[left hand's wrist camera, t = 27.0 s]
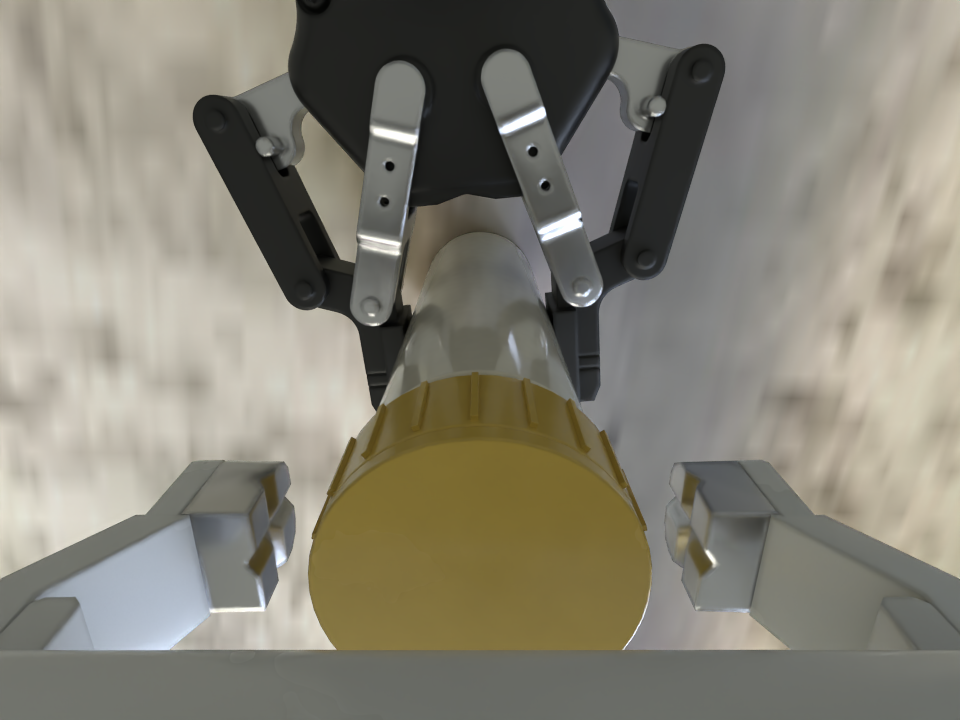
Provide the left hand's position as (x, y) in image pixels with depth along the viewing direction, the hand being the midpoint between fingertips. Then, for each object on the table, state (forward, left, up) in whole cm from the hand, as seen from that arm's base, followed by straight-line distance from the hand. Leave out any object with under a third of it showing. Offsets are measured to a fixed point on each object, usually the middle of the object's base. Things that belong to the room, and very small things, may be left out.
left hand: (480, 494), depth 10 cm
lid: (0, 0, +2) cm, 2 cm away
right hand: (0, +3, -9) cm, 9 cm away
